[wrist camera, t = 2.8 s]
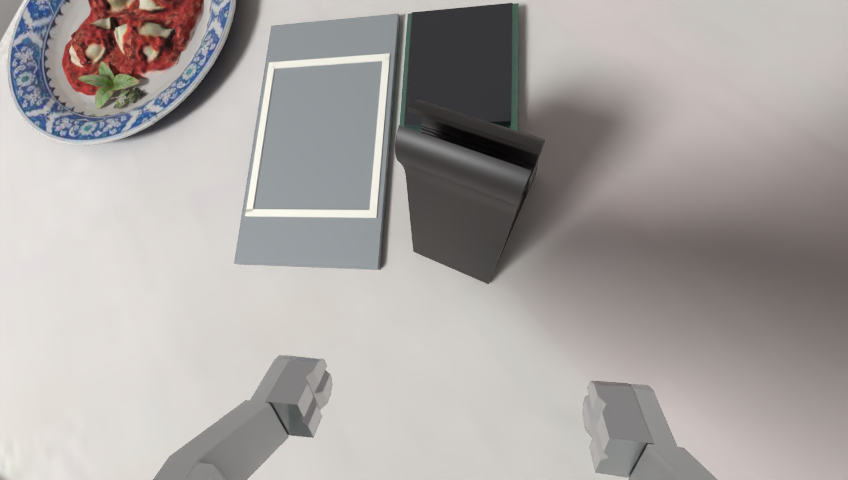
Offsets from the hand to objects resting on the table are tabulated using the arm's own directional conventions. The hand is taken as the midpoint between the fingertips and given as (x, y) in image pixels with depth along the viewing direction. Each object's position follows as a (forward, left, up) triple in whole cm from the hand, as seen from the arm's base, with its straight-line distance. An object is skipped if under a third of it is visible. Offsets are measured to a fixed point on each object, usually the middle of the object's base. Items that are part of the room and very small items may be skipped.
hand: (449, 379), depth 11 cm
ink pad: (+1, -21, -14) cm, 25 cm away
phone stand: (0, -9, -14) cm, 17 cm away
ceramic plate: (+35, -28, -14) cm, 47 cm away
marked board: (+13, -16, -14) cm, 25 cm away
